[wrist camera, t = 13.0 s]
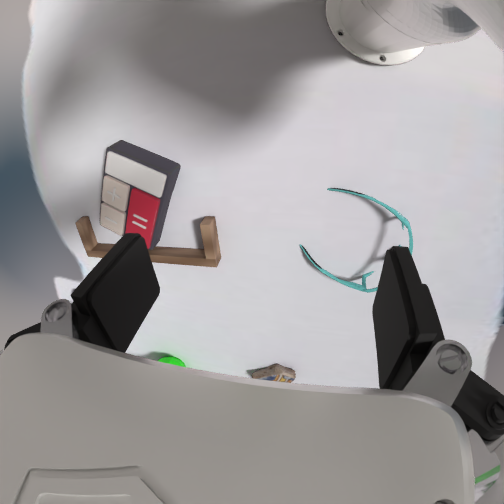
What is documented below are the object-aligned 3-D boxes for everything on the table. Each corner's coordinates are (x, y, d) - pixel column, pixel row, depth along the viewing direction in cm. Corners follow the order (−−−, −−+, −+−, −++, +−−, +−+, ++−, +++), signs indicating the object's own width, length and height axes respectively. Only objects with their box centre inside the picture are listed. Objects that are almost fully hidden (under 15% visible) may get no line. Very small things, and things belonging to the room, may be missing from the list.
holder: (83, 216, 49) (75, 223, 47) (214, 216, 43) (209, 224, 41) (94, 249, 53) (88, 256, 51) (221, 257, 48) (216, 267, 46)
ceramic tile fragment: (292, 400, 65) (252, 395, 67) (293, 389, 68) (254, 384, 69) (295, 374, 58) (249, 369, 60) (297, 362, 61) (252, 358, 63)
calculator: (96, 226, 45) (103, 148, 36) (110, 213, 48) (120, 138, 39) (150, 254, 46) (168, 176, 36) (161, 239, 49) (181, 164, 40)
